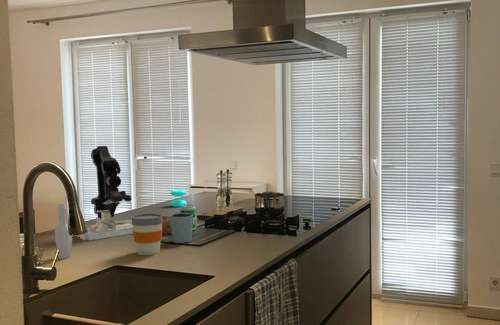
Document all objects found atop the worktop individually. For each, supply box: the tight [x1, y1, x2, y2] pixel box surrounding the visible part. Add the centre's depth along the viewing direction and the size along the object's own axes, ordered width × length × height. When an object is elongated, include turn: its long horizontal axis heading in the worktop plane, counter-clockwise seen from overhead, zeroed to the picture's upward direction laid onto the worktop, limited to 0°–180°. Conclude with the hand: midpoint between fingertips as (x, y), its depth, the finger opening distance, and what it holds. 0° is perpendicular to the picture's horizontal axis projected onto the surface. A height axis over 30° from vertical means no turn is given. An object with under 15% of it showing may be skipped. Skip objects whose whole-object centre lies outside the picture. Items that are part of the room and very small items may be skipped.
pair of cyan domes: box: [170, 189, 188, 208], centre depth 340 cm, size 10×10×10 cm
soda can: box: [179, 204, 197, 232], centre depth 263 cm, size 8×8×12 cm
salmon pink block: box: [91, 222, 100, 232], centre depth 261 cm, size 4×4×3 cm
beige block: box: [95, 222, 109, 232], centre depth 256 cm, size 4×4×3 cm
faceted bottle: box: [54, 202, 73, 260], centre depth 214 cm, size 6×6×22 cm
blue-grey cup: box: [169, 212, 193, 244], centre depth 239 cm, size 10×10×12 cm
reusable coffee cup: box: [131, 213, 163, 256], centre depth 219 cm, size 13×13×15 cm
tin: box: [162, 215, 172, 235], centre depth 259 cm, size 15×3×8 cm, turn 62°
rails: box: [86, 218, 133, 242], centre depth 262 cm, size 21×31×3 cm
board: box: [107, 223, 133, 230], centre depth 265 cm, size 13×15×2 cm
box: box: [77, 227, 94, 241], centre depth 256 cm, size 15×12×4 cm
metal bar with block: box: [96, 210, 116, 230], centre depth 260 cm, size 20×3×7 cm, turn 38°
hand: (112, 216), depth 262 cm, fingers closed
